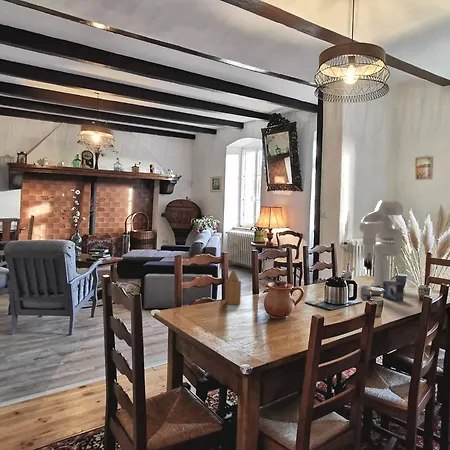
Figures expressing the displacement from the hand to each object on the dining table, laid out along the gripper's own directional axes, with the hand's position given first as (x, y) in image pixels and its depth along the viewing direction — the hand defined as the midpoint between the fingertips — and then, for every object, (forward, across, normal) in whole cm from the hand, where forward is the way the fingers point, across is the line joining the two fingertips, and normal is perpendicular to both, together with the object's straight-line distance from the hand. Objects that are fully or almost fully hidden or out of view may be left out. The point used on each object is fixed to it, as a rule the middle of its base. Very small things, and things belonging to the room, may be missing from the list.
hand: (367, 268), depth 246 cm
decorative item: (+18, +48, -78) cm, 94 cm away
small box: (+17, +8, +14) cm, 24 cm away
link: (+17, -1, -1) cm, 17 cm away
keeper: (+17, +13, -1) cm, 21 cm away
